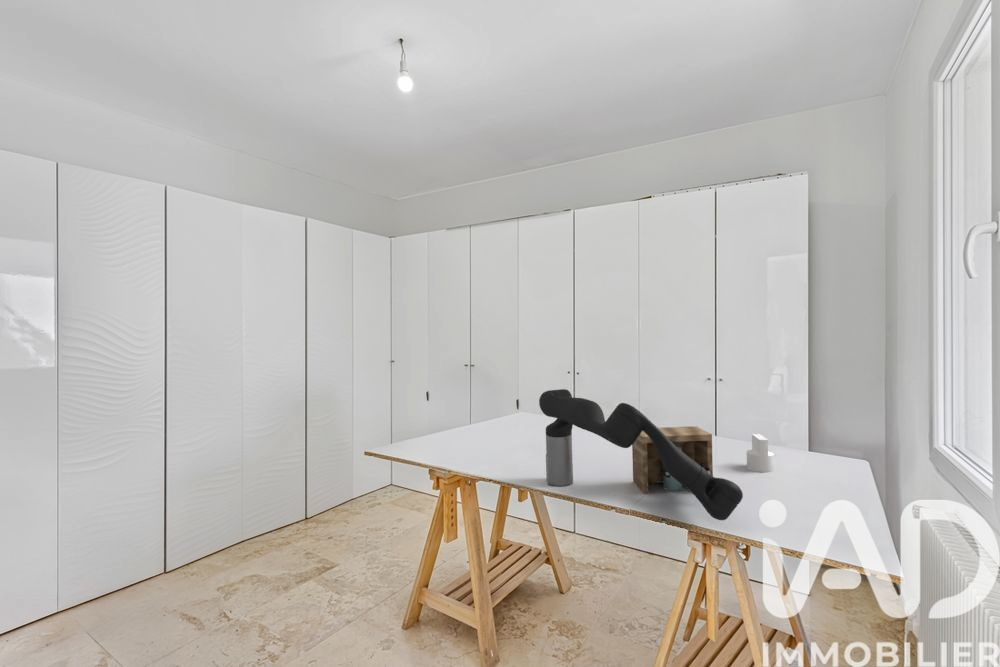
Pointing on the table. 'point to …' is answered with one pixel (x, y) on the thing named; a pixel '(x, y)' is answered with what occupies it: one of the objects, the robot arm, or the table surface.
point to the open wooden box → (648, 460)
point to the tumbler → (672, 481)
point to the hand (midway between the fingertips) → (676, 463)
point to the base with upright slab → (760, 455)
